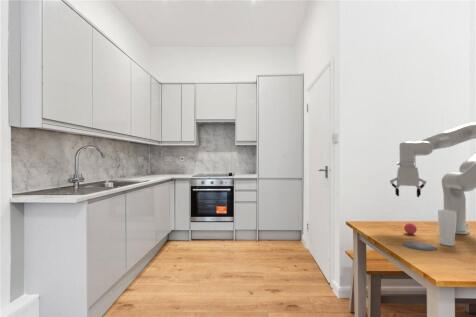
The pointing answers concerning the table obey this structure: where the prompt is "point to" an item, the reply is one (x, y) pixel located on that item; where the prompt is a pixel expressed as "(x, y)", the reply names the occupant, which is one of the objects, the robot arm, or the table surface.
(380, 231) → the table surface
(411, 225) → the ball
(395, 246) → the table surface
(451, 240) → the drinking glass
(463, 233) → the robot arm
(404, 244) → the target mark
